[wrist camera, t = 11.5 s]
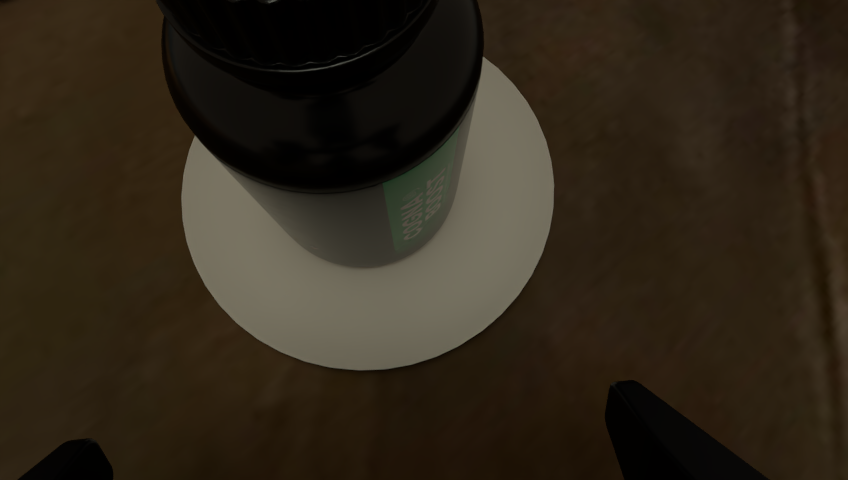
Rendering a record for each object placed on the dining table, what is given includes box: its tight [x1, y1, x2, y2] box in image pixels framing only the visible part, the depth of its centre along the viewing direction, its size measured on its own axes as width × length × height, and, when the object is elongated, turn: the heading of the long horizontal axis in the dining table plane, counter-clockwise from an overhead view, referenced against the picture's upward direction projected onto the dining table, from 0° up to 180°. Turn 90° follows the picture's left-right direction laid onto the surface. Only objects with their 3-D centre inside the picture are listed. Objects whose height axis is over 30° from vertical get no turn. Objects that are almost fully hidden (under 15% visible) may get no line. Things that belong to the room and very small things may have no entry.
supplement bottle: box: [156, 0, 484, 267], centre depth 13 cm, size 7×7×12 cm
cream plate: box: [182, 57, 554, 370], centre depth 19 cm, size 14×14×1 cm
